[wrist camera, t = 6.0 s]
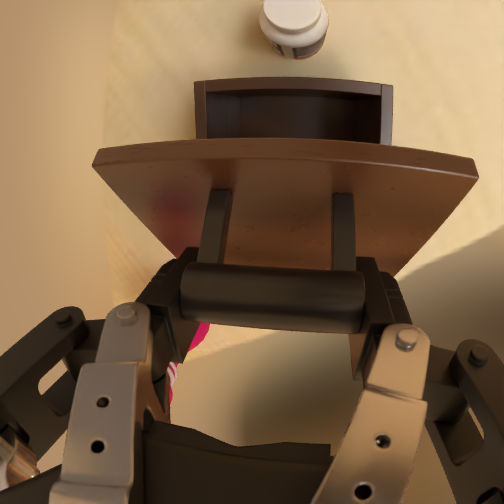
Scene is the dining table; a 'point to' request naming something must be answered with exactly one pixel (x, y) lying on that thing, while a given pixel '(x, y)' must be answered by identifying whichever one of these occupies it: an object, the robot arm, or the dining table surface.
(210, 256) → the lid
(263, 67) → the dining table surface
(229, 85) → the chest
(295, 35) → the pill bottle
